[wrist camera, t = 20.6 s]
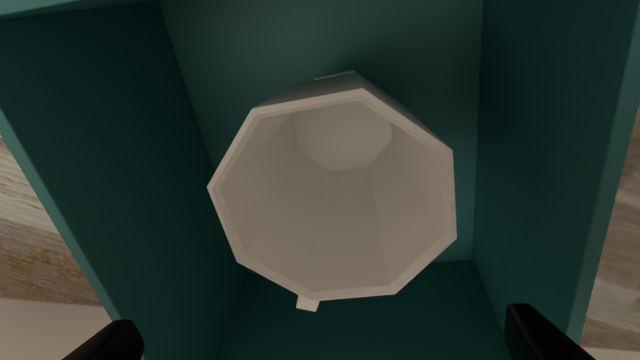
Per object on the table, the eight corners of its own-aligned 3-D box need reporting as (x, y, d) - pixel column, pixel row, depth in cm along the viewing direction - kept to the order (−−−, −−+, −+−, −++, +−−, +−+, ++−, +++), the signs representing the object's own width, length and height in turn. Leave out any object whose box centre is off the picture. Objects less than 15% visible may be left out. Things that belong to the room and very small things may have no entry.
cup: (442, 55, 15) (513, 120, 8) (380, 240, 20) (392, 380, 13) (277, 20, 15) (210, 57, 8) (254, 214, 20) (199, 341, 13)
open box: (477, 259, 21) (554, 442, 13) (244, 273, 23) (181, 438, 15) (494, -74, 14) (704, -153, 5) (151, -8, 16) (-77, 7, 7)
